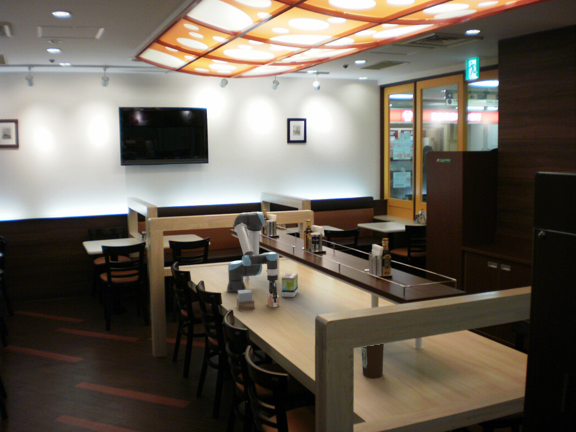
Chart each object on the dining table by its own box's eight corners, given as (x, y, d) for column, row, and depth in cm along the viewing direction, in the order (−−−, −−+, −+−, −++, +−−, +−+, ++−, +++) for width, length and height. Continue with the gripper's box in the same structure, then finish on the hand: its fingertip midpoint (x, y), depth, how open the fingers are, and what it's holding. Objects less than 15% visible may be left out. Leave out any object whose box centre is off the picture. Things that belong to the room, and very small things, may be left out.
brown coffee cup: (380, 368, 251) (379, 319, 249) (386, 378, 241) (386, 326, 238) (358, 370, 250) (358, 320, 247) (364, 379, 240) (364, 327, 237)
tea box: (294, 297, 387) (294, 277, 385) (281, 296, 389) (281, 277, 387) (298, 291, 401) (297, 273, 400) (285, 291, 403) (285, 273, 402)
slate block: (237, 298, 365) (237, 290, 364) (250, 297, 367) (250, 289, 366) (239, 302, 356) (239, 293, 356) (252, 300, 358) (252, 292, 358)
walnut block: (236, 306, 367) (236, 298, 366) (252, 305, 369) (252, 297, 368) (238, 311, 356) (238, 302, 355) (254, 309, 358) (254, 301, 358)
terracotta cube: (267, 304, 369) (267, 294, 369) (277, 303, 371) (276, 294, 370) (269, 307, 363) (269, 297, 362) (279, 306, 364) (279, 296, 363)
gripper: (264, 271, 375) (265, 300, 377) (270, 278, 352) (271, 309, 355) (274, 270, 377) (275, 299, 379) (281, 277, 354) (282, 308, 356)
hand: (273, 304), depth 367 cm, fingers open, 11 cm apart
